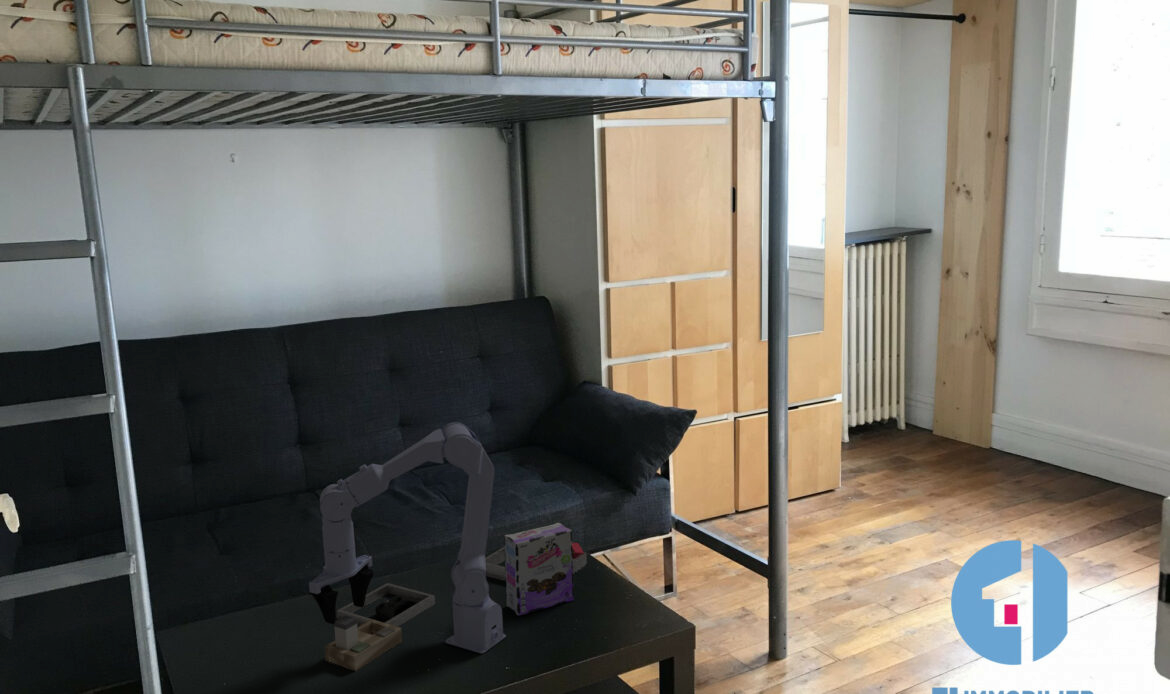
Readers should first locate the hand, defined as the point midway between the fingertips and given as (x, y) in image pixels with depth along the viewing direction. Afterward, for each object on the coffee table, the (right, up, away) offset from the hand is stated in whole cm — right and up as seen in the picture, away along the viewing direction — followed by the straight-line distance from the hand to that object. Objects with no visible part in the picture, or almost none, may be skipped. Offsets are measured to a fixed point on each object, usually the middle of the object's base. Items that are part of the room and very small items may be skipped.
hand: (344, 613), depth 184 cm
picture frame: (+4, -5, +21) cm, 22 cm away
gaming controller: (+6, -6, +20) cm, 21 cm away
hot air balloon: (+39, -1, +41) cm, 56 cm away
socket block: (+3, -9, +4) cm, 10 cm away
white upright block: (0, -9, +2) cm, 9 cm away
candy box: (+37, -4, +23) cm, 44 cm away
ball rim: (+35, -1, +40) cm, 53 cm away
